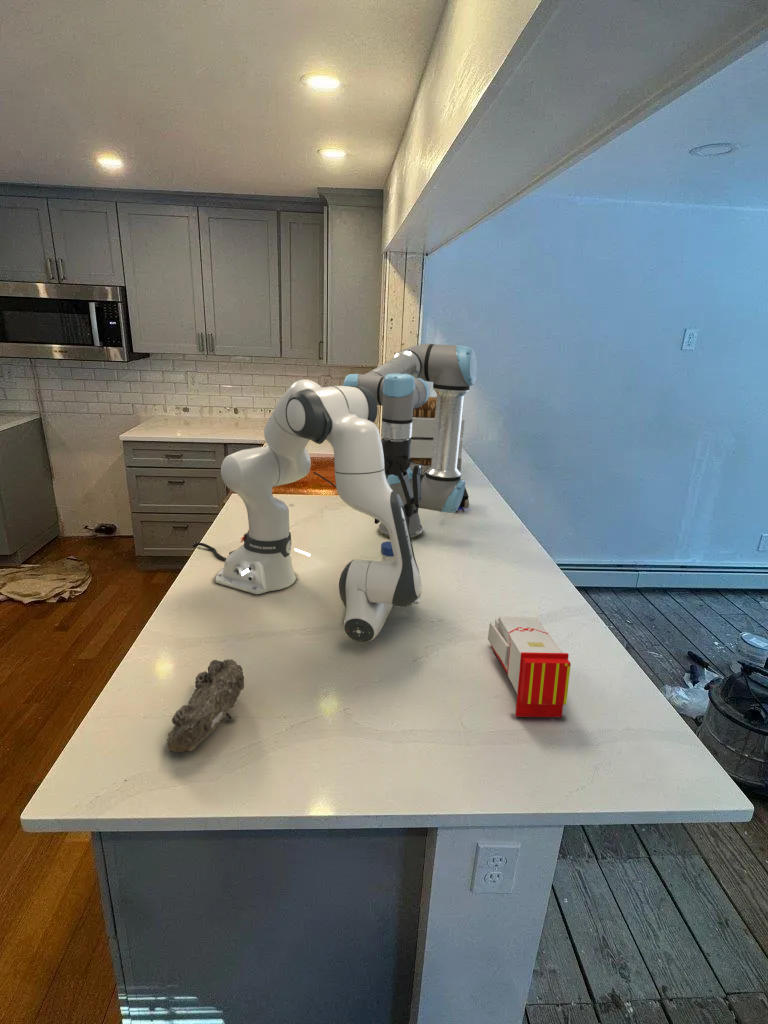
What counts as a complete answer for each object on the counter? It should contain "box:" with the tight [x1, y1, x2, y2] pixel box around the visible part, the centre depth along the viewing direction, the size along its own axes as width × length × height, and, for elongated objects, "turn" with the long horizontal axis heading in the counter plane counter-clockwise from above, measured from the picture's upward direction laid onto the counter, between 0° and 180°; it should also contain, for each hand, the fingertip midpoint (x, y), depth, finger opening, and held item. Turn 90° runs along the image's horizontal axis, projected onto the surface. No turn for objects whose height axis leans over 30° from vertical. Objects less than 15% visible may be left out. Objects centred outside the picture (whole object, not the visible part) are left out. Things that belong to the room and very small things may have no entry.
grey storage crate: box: [410, 396, 465, 474], centre depth 268 cm, size 34×33×41 cm
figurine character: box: [455, 487, 470, 513], centre depth 227 cm, size 7×8×15 cm
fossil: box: [166, 658, 245, 754], centre depth 106 cm, size 22×10×15 cm
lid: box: [380, 540, 394, 556], centre depth 150 cm, size 5×5×2 cm
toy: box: [487, 616, 572, 718], centre depth 123 cm, size 12×13×30 cm
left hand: (389, 575), depth 154 cm, fingers open, 8 cm apart
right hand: (391, 524), depth 148 cm, fingers open, 7 cm apart
